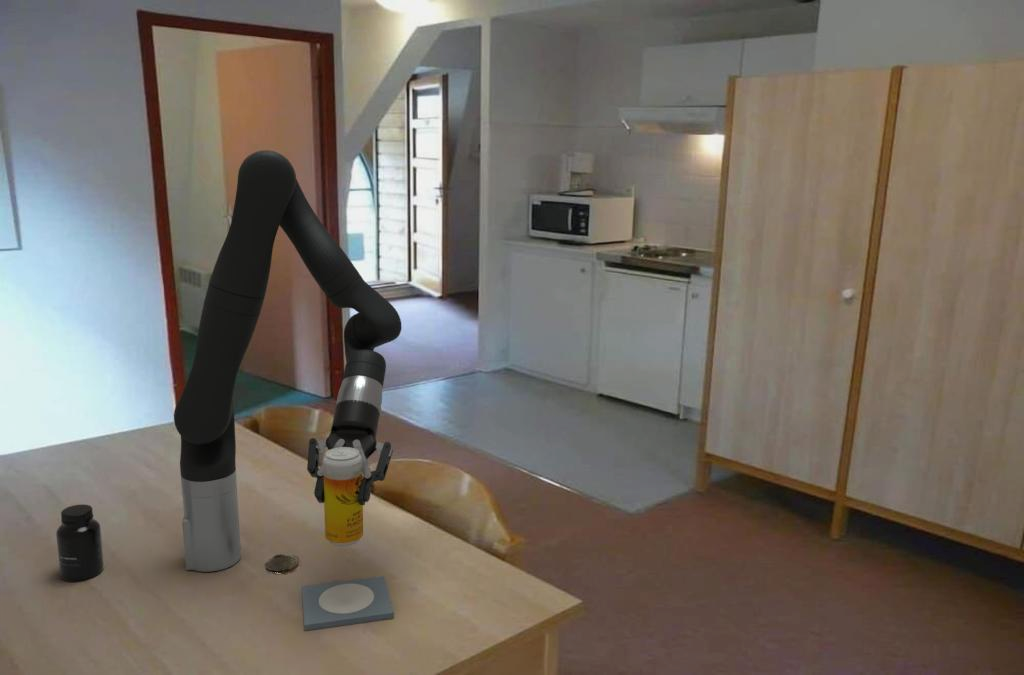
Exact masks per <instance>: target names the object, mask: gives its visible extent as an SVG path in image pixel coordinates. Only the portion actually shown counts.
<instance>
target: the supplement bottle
mask: <svg viewBox="0 0 1024 675" xmlns="http://www.w3.org/2000/svg"><path fill="white" fill-rule="evenodd" d="M60 516H61V517H60V518H61V520H60V521H61V524H60V526H58V527H57V530H56V534H55V535H56V545H57V557H58V567H59V574H60V577H61V578H62V579H63V580H64V581H68V582H81V581H86V580H90V579H92V578H94V577H96V576H98V575H100V574H101V573H102V571H103V570H104V554H103V544H102V542H103V541H102V529H101V524H100V522H99V521H98V520H96V519H94V512H93V507H92V506H91V505H90V504H75V505H74V504H73V505H70V506H68V507H65V508H64V509H63V510H62V511H61V512H60Z"/></svg>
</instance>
